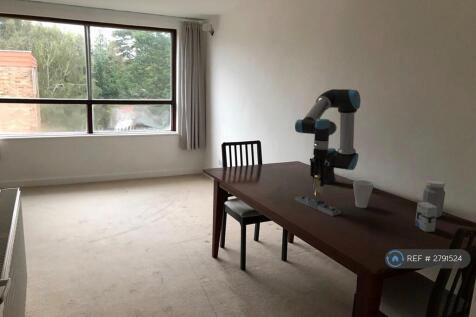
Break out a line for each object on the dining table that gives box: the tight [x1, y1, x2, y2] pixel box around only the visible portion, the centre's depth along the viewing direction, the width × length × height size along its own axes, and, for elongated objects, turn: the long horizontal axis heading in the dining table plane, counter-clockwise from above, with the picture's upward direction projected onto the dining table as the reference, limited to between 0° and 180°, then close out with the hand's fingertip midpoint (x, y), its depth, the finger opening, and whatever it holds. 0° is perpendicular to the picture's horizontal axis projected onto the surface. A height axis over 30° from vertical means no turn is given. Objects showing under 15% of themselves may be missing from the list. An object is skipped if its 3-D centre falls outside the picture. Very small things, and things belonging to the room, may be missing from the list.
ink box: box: [414, 201, 438, 233], centre depth 168 cm, size 8×5×12 cm, turn 5°
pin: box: [314, 175, 322, 197], centre depth 193 cm, size 5×5×11 cm
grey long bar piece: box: [294, 195, 342, 217], centre depth 195 cm, size 29×7×4 cm, turn 32°
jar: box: [421, 179, 446, 219], centre depth 185 cm, size 10×10×18 cm
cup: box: [352, 180, 375, 209], centre depth 197 cm, size 10×10×14 cm
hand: (317, 190), depth 194 cm, fingers closed on pin, 3 cm apart
